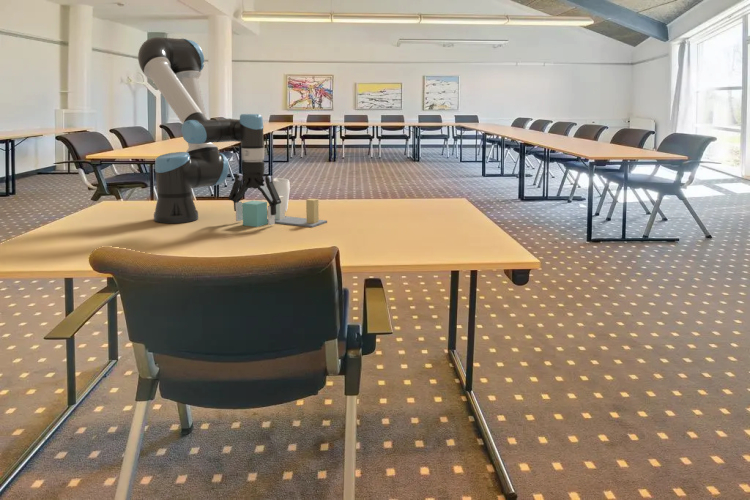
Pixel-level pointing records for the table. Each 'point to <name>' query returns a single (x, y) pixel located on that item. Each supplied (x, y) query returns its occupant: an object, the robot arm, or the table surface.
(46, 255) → the table surface
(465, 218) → the table surface
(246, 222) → the teal cube block
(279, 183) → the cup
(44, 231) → the table surface
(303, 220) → the post board
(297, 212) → the table surface
